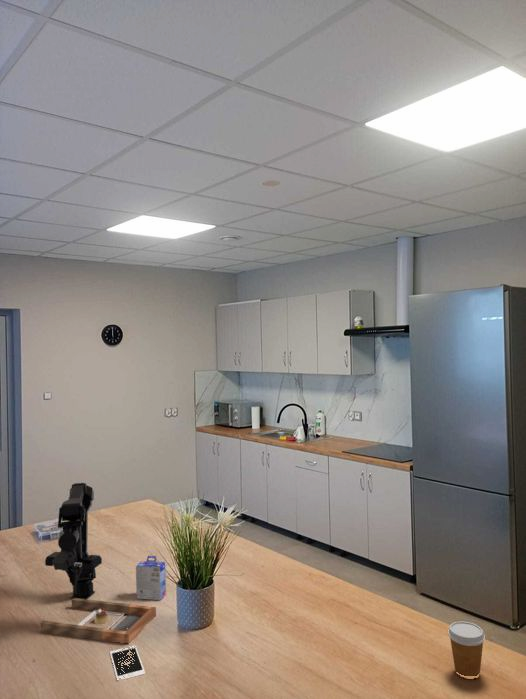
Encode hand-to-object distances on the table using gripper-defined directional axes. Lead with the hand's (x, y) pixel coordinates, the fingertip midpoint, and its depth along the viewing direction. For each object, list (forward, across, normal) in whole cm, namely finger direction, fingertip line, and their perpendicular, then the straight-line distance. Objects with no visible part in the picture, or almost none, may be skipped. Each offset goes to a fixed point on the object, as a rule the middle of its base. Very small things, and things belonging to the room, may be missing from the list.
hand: (74, 585), depth 184 cm
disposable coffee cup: (+12, +126, -3) cm, 126 cm away
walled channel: (+12, +10, -1) cm, 15 cm away
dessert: (+13, +9, +1) cm, 16 cm away
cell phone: (+12, +30, -19) cm, 38 cm away
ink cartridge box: (+12, +18, +21) cm, 30 cm away
